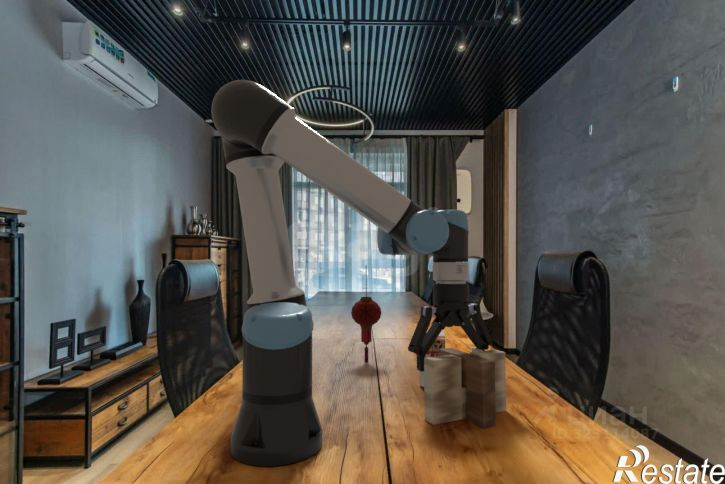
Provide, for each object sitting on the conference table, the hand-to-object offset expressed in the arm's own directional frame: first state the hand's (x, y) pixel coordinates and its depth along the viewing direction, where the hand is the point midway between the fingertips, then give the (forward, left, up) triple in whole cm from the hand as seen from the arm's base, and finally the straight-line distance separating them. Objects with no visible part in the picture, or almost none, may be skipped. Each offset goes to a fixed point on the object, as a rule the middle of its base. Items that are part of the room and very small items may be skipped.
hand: (452, 382), depth 90 cm
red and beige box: (+10, +22, -6) cm, 25 cm away
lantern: (+1, +46, -5) cm, 46 cm away
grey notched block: (0, -5, -5) cm, 7 cm away
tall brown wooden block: (0, -4, -5) cm, 7 cm away
